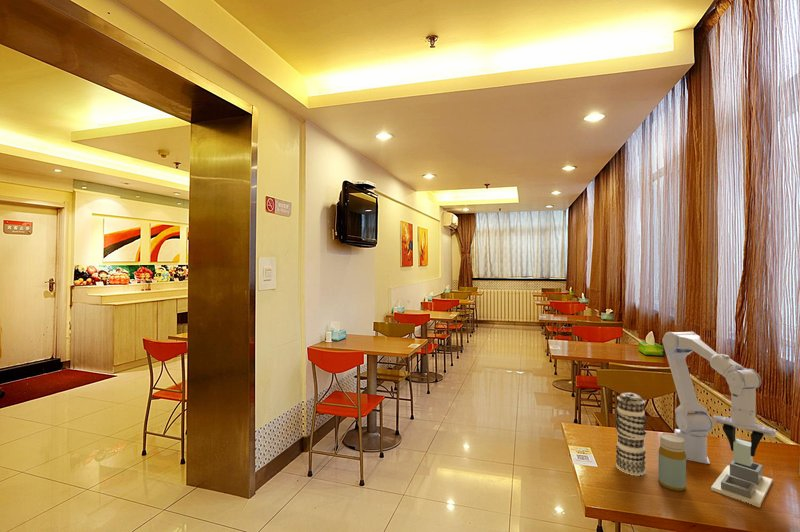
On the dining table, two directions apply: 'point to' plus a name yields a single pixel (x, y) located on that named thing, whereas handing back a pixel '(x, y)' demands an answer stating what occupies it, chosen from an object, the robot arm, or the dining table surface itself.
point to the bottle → (672, 462)
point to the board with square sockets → (743, 483)
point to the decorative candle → (630, 434)
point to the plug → (742, 452)
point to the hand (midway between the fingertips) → (742, 452)
